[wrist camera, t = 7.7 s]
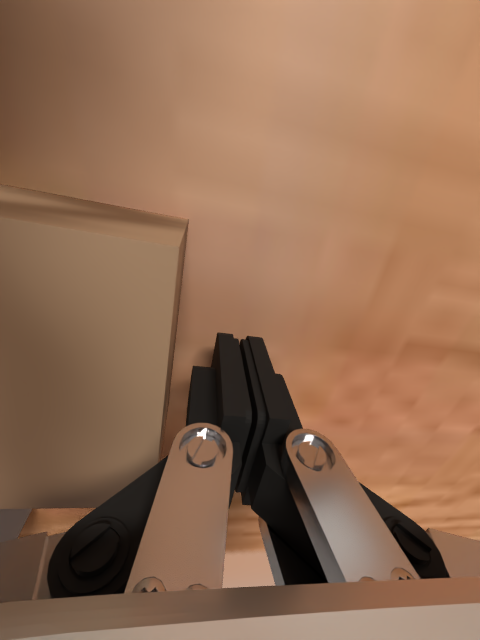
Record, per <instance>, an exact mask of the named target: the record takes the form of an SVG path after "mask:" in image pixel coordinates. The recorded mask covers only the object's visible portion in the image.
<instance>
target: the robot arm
mask: <svg viewBox="0 0 480 640" xmlns="http://www.w3.org/2000/svg"><path fill="white" fill-rule="evenodd" d="M234 490H235V491H236V492H241V496H242V505H251V509H252V510H253V511H254V512H255V513H256V514H258V515H259V518H258V521H259V528H260V531H261V535H262V539H263V542H264V546H265V549H266V553H267V556H268V560H269V564H270V567H271V571H272V574H273V578H274V581H275V585H276V586H260V587H241V588H222V583H223V582H222V581H223V570H224V558H225V545H226V533H227V520H228V509H229V507H230V504H231V500H232V497H233V494H234ZM0 640H480V541H477V540H473V539H469V538H465V537H461V536H457V535H454V534H450V533H446V532H442V531H438V530H434V529H430V528H428V529H427V530H426V531H424V530H423V529H422V528H421V527H420V526H419V525H417V524H416V523H415V522H414V521H413V520H411V519H410V518H408V517H407V516H406V515H404V514H403V513H401V512H400V511H399V510H397V509H396V508H394V507H393V506H392V505H390V504H389V503H387V502H386V501H385V500H383V499H382V498H380V497H379V496H378V495H376V494H375V493H373V492H372V491H371V490H369V489H368V488H366V487H365V486H364V485H362V484H361V483H359V482H358V481H357V479H356V477H355V476H354V474H353V473H352V471H351V470H350V468H349V467H348V465H347V463H346V462H345V460H344V459H343V457H342V456H341V454H340V453H339V451H338V449H337V448H336V447H335V446H334V444H333V443H332V442H331V441H330V440H329V439H328V438H326V437H325V436H324V435H322V434H320V433H318V432H316V431H313V430H310V429H303V427H302V425H301V422H300V420H299V417H298V414H297V412H296V409H295V407H294V404H293V401H292V399H291V396H290V394H289V391H288V388H287V386H286V383H285V381H284V378H283V376H282V375H281V374H275V372H274V369H273V366H272V364H271V361H270V358H269V355H268V352H267V349H266V346H265V344H264V341H263V338H260V337H252V336H247V337H246V340H244V339H241V341H240V345H239V341H238V339H235V338H233V334H226V333H217V337H216V343H215V348H214V354H213V360H212V365H211V368H210V367H199V366H193V369H192V375H191V382H190V390H189V398H188V407H187V418H186V427H184V428H183V429H182V430H181V431H180V432H178V433H177V435H176V437H175V439H174V441H173V443H172V447H171V450H170V453H169V455H168V456H167V457H166V458H164V459H163V460H161V461H160V462H159V463H157V464H156V465H155V466H153V467H152V468H151V469H149V470H148V471H146V472H145V473H144V474H142V475H141V476H140V477H138V478H137V479H136V480H134V481H133V482H131V483H130V484H129V485H127V486H126V487H125V488H123V489H122V490H121V491H119V492H118V493H116V494H115V495H114V496H112V497H111V498H110V499H108V500H107V501H106V502H104V503H103V504H101V505H100V506H99V507H97V508H96V509H95V510H93V511H92V512H90V513H89V514H88V515H86V516H85V517H84V518H82V519H81V520H80V521H78V522H77V523H76V524H75V525H74V526H73V527H71V528H70V529H69V530H68V531H67V532H64V533H60V534H56V535H52V536H48V534H47V532H43V533H38V534H34V535H30V536H26V537H21V538H17V539H13V540H9V541H4V542H0Z"/></svg>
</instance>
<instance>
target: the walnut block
mask: <svg viewBox="0 0 480 640" xmlns="http://www.w3.org/2000/svg"><path fill="white" fill-rule="evenodd" d="M188 221H189V219H183V218H178V217H173V216H167V215H162V214H157V213H151V212H146V211H141V210H135V209H130V208H125V207H120V206H114V205H109V204H104V203H98V202H93V201H88V200H82V199H77V198H72V197H66V196H61V195H56V194H50V193H45V192H40V191H34V190H29V189H24V188H18V187H13V186H8V185H2V184H0V509H41V508H97V507H99V506H100V505H101V504H103V503H104V502H106V501H107V500H108V499H110V498H111V497H112V496H114V495H115V494H116V493H118V492H119V491H121V490H122V489H123V488H125V487H126V486H127V485H129V484H130V483H131V482H133V481H134V480H136V479H137V478H138V477H140V476H141V475H142V474H144V473H145V472H146V471H148V470H149V469H151V468H152V467H153V466H155V465H156V464H157V463H159V462H160V458H161V452H162V445H163V438H164V431H165V424H166V418H167V411H168V404H169V395H170V385H171V376H172V367H173V358H174V349H175V340H176V331H177V321H178V312H179V303H180V294H181V285H182V276H183V266H184V257H185V248H186V239H187V230H188Z"/></svg>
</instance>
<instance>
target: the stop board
mask: <svg viewBox="0 0 480 640" xmlns="http://www.w3.org/2000/svg"><path fill="white" fill-rule="evenodd" d="M31 511H32V509H0V542H4V541H9V540H13V539H17V538H18V536H19V534H20V532H21V530H22V528H23V526H24V524H25V522H26V520H27V518H28V516H29V514H30V512H31Z"/></svg>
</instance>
